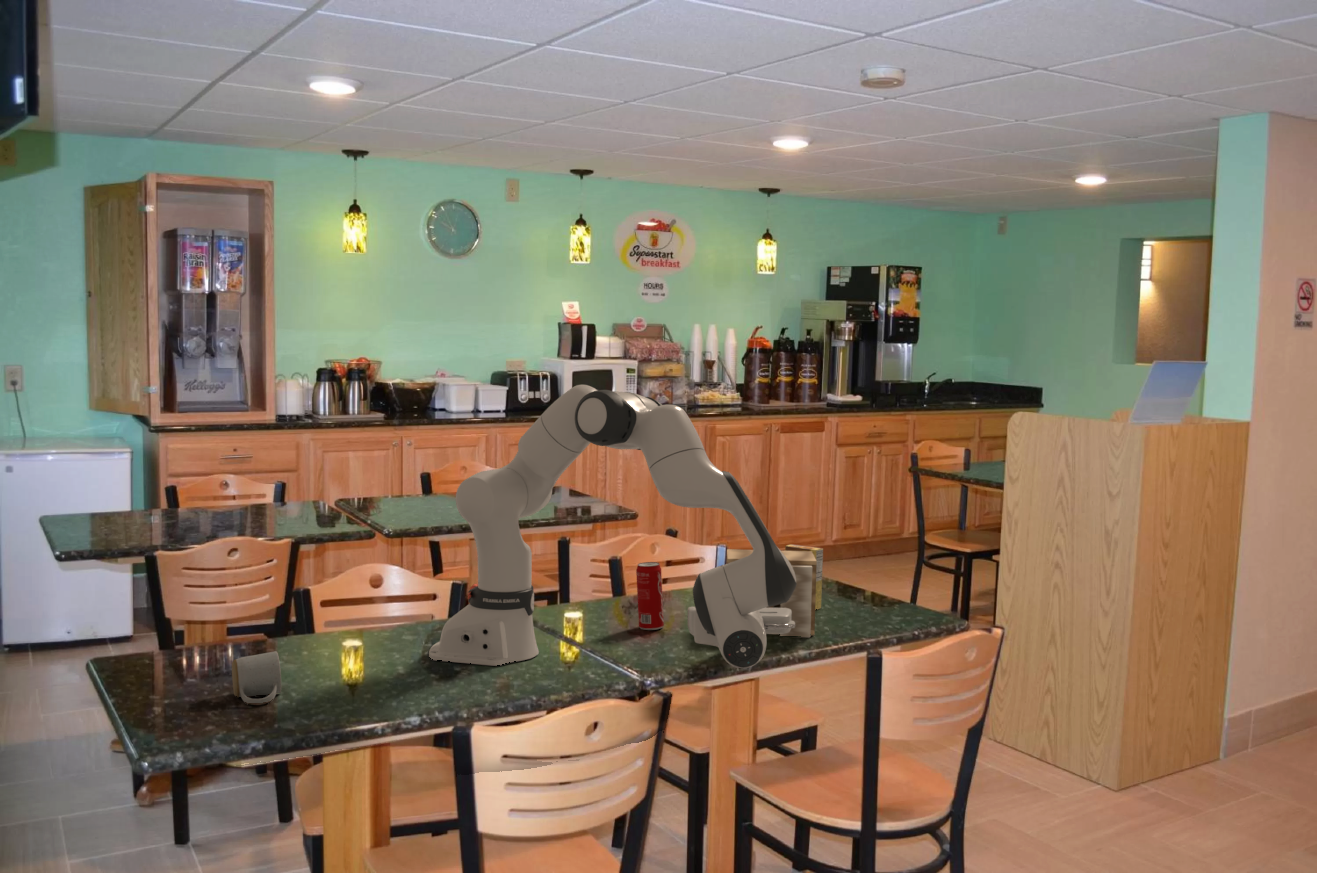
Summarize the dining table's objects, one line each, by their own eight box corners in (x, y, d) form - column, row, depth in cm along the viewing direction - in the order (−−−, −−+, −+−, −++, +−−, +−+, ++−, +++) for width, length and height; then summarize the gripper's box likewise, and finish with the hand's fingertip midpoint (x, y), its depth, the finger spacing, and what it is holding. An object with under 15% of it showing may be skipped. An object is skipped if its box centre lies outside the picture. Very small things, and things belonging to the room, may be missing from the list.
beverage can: (663, 631, 254) (664, 566, 253) (634, 630, 254) (635, 565, 253) (663, 624, 260) (665, 561, 259) (635, 624, 260) (636, 560, 259)
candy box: (782, 606, 281) (784, 545, 280) (790, 603, 284) (792, 543, 283) (814, 611, 276) (816, 549, 275) (822, 608, 279) (823, 547, 278)
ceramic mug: (230, 691, 205) (230, 651, 204) (277, 686, 209) (277, 646, 208) (236, 710, 196) (235, 667, 195) (285, 704, 199) (284, 662, 199)
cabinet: (716, 643, 244) (717, 567, 243) (715, 619, 266) (717, 548, 264) (818, 646, 243) (820, 569, 242) (809, 622, 265) (811, 551, 263)
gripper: (796, 611, 208) (791, 595, 222) (686, 609, 209) (688, 593, 223) (796, 644, 208) (790, 626, 222) (686, 643, 209) (687, 625, 223)
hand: (738, 610), depth 222 cm, fingers open, 8 cm apart
